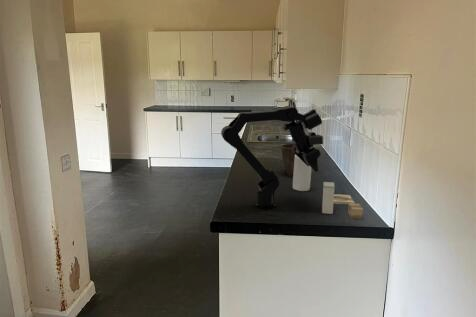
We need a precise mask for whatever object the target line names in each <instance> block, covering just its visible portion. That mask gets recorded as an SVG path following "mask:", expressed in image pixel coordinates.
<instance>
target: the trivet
mask: <svg viewBox="0 0 476 317" xmlns="http://www.w3.org/2000/svg"><path fill="white" fill-rule="evenodd" d="M349 204H356V202H355V201H354V199H353V198H352V197H351V195H350V194H334V202H333V205H349Z"/></svg>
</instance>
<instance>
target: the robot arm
mask: <svg viewBox="0 0 476 317" xmlns="http://www.w3.org/2000/svg"><path fill="white" fill-rule="evenodd" d="M266 121H280V122H284V123H283V126H282V130H283V131H288V132H289V134H290V136H291V138H292V139H291V141H292V142H293V144H295V145H293V146H292V151H293V152H294V153H295V154H296V155H297V156H298V157H299V158H300V159H301V160H302V161H303V162H304V163H305V164H306V165H307V166H310V167H311V170H313V171H314V172H315V173H317V172H319V164H318V159H319V158H320V157H321V155H322V152H321V151H320V149H318V148H316V147H314V145H315V146H316V145H323V144H324V136H323V135H321V134H316V132H315V131H312V132H309V135H308V134H307V133H306V131H305V130H308V131H311V130H313V129H314V128H317V127H318V126H320V125H323V120H322V117H321V116H320V115H319V113H318V112H317V111H316V109H315V108H313V109H311V110H309V111H307V112H306V113H300V112H299V110H298V109H297V108H296V107H293V106H292V105H291V106H289V105H285V106H282V107H277V108H275V109H270V110H269V109H268V110H258V111H241V112H239V113H238V114H237V116H236V117H235V118H233V119H232V120H231V121H230V123H229V124H228V125H224V127H223V128H222V129H221V131H220V136H221V137H222V139H223V140H224V141H225V142H226V143H227V144H228V145H229V146H231V147H232V148H234V150H237V152H238V153H239V154H240V155H241V156H242V157H243V158H244V160H245V161H246V162H247V163H248V164H249V165H250V167H252V169H253V170H254V171H255V172H256V173H257V175H258V177H259V179H260V181H258V183H256V186H257V190H259V191H257V203H255V204H254V206H255V207H258V208H260V209H263V210H269V209H272V208H275V207H277V204H275V192H276V190H277V189H278V188H279V186H280V180H279V178H280V177H279V176H278V175H277V174H276V173H275V172H274V170H273V169H272V168H271V167H270V166H268V167H267V168H266V167H265V166H264V165H263V164H262V163H261V162H260V161H259V160H258V159H257V157H256V156H255V155H254V154H253V153H252V151H251V150H250V149H249V148H248V147H247V146H246V144H245V143H244V142H243V140H242V137H240V135H239V133H240V132H241V131H242V129H244V127H245V126H246V124H247V123H254V122H255V123H256V122H266ZM287 122H288V123H287Z"/></svg>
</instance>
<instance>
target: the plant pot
mask: <svg viewBox="0 0 476 317" xmlns="http://www.w3.org/2000/svg"><path fill="white" fill-rule="evenodd" d="M293 145H295V144H294V143H285V144H281V146H280V148H281V154H282V155H281V156H282V160H283V165H284V169H285V173H286V175H287V176H290V177H293V174H294V159H295V155H296V154H295V153H294V152H293V151H292V146H293Z"/></svg>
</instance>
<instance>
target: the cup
mask: <svg viewBox="0 0 476 317" xmlns="http://www.w3.org/2000/svg"><path fill="white" fill-rule="evenodd" d="M311 178H312V168H311V167H310V166H307V165H306V164H305V163H304V162H303V161H302V160H301V159H300V158H299V157H298V156H297V155H295V159H294V174H293V176H292V189H293V190H295V191H300V192H308V191H310V189H311Z"/></svg>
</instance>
